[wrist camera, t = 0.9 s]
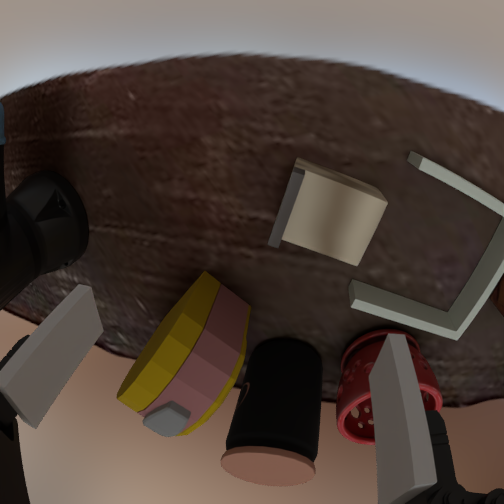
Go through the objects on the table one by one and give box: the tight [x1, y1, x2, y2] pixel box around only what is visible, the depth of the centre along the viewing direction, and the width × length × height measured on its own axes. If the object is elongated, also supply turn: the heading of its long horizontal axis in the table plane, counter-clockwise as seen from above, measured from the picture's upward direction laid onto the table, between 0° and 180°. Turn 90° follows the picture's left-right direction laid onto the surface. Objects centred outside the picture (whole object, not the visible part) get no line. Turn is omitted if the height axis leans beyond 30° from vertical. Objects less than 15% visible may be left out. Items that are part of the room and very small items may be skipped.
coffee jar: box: [221, 339, 323, 486], centre depth 36 cm, size 11×11×18 cm
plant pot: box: [336, 329, 442, 445], centre depth 34 cm, size 13×13×12 cm
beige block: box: [267, 157, 388, 266], centre depth 29 cm, size 9×7×7 cm
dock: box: [348, 151, 504, 340], centre depth 29 cm, size 16×17×4 cm
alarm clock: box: [117, 271, 251, 437], centre depth 34 cm, size 15×8×18 cm, turn 141°
